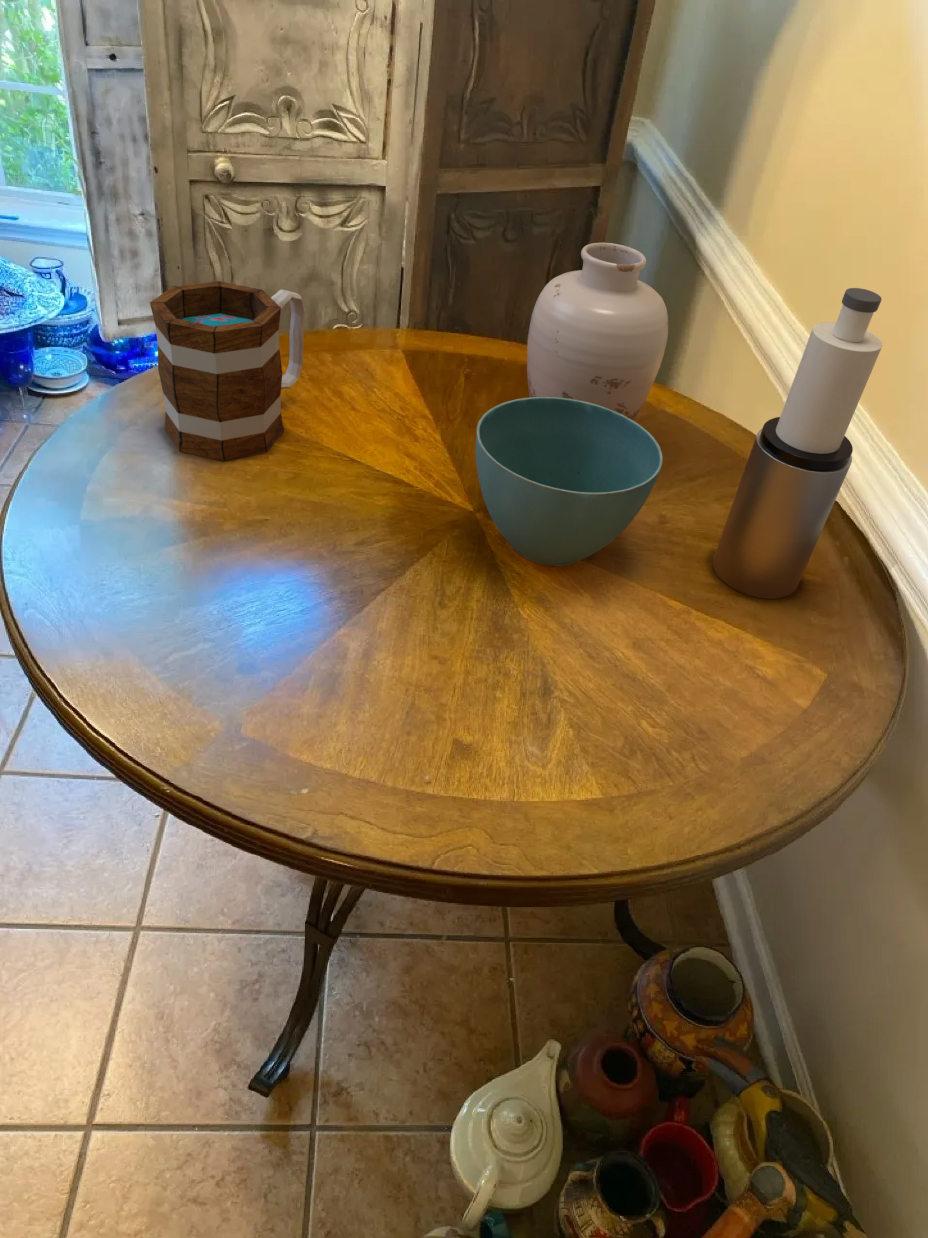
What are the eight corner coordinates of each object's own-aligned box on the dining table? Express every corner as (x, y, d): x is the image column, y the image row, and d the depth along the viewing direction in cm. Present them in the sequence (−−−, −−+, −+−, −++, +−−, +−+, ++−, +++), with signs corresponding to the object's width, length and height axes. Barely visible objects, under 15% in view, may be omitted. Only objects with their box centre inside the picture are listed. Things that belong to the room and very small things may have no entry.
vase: (550, 480, 106) (588, 285, 91) (492, 415, 117) (517, 230, 102) (663, 462, 112) (715, 276, 97) (597, 402, 122) (636, 225, 108)
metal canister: (815, 581, 96) (875, 448, 86) (762, 609, 92) (819, 472, 81) (748, 537, 101) (797, 406, 91) (695, 562, 97) (740, 427, 86)
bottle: (852, 444, 86) (914, 301, 77) (815, 460, 83) (874, 313, 74) (800, 416, 89) (853, 276, 80) (762, 430, 86) (813, 286, 77)
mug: (221, 474, 100) (211, 344, 90) (139, 429, 105) (121, 301, 95) (342, 414, 113) (345, 294, 103) (263, 377, 118) (259, 259, 108)
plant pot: (595, 490, 105) (618, 392, 98) (663, 588, 93) (695, 485, 85) (444, 500, 100) (455, 398, 93) (493, 606, 88) (510, 498, 80)
